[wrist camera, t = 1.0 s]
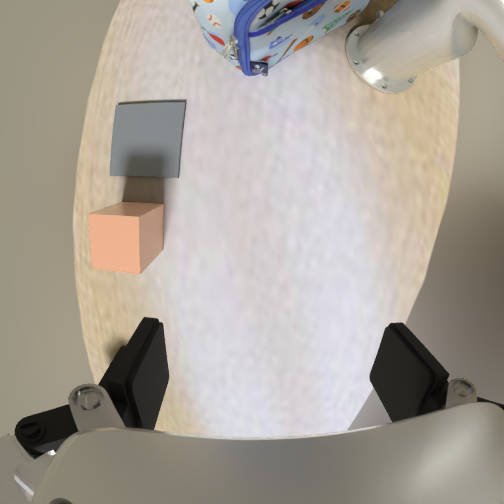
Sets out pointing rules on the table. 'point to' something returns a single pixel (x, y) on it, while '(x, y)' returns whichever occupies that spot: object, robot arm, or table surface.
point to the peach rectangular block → (126, 236)
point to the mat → (147, 139)
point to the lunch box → (269, 27)
